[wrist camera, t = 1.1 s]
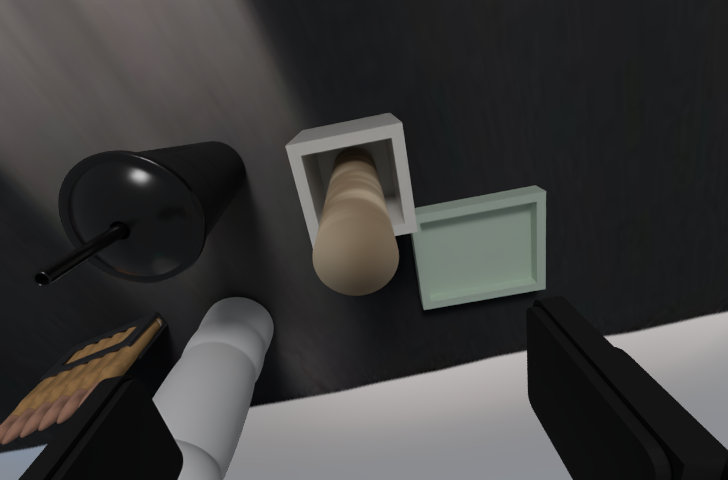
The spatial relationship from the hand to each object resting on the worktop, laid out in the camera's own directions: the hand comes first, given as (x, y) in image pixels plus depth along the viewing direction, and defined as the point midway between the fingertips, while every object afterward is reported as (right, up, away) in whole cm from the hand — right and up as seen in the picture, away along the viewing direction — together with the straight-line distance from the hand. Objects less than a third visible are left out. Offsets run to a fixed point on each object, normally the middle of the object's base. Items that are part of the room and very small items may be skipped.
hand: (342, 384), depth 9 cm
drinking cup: (-12, +10, +24) cm, 29 cm away
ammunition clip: (-25, -7, +31) cm, 40 cm away
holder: (0, +10, +24) cm, 26 cm away
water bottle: (-12, -5, +30) cm, 33 cm away
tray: (+11, +3, +27) cm, 30 cm away
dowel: (0, +10, +23) cm, 25 cm away
